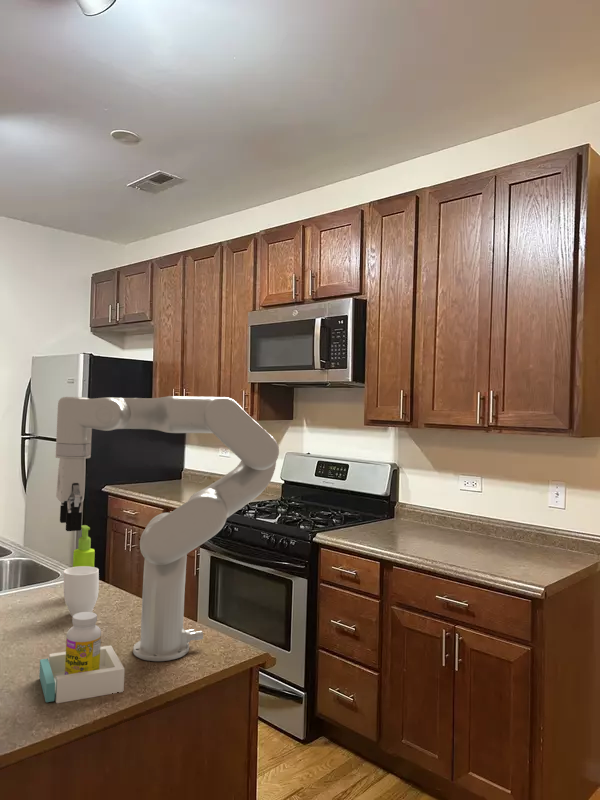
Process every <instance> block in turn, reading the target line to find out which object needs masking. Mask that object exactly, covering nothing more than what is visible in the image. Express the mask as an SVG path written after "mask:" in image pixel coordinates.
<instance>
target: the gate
mask: <svg viewBox="0 0 600 800" xmlns="http://www.w3.org/2000/svg"><path fill="white" fill-rule="evenodd" d="M38 674H39V675H38V676H39V681H40V686H41V689H42V692H43V696H44V701H45V703H49V702H54V701H55V680H54V677H53V674H52V670H51V667H50V664H49V658H42V659H39V673H38Z"/></svg>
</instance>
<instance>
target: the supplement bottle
mask: <svg viewBox="0 0 600 800" xmlns="http://www.w3.org/2000/svg"><path fill="white" fill-rule="evenodd" d="M97 621H98V614H97V613H95V612H93V611H92V612H80V613H77V614H75V615H73V617H72V622H71V623H72V625H73V626H71V627H70V628H69V629H68V631H67V633H66V641H65V642H66V643H65V652H66V657H65V675H68V674H74V673H81V672H87V671H94V670H99V668H100V647H102V645H101V644H102V630H101V628H100V627H99V626H98V625H96V623H97Z"/></svg>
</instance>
